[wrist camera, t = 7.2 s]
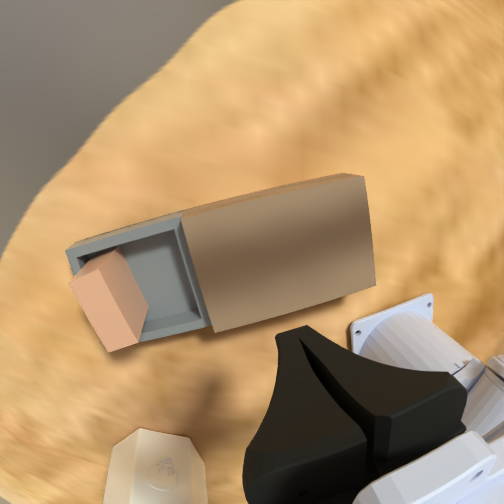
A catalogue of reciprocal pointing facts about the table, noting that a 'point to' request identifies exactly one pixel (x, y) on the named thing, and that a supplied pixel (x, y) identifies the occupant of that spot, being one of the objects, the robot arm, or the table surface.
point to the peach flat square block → (111, 299)
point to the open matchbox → (281, 249)
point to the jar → (155, 470)
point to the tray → (154, 272)
